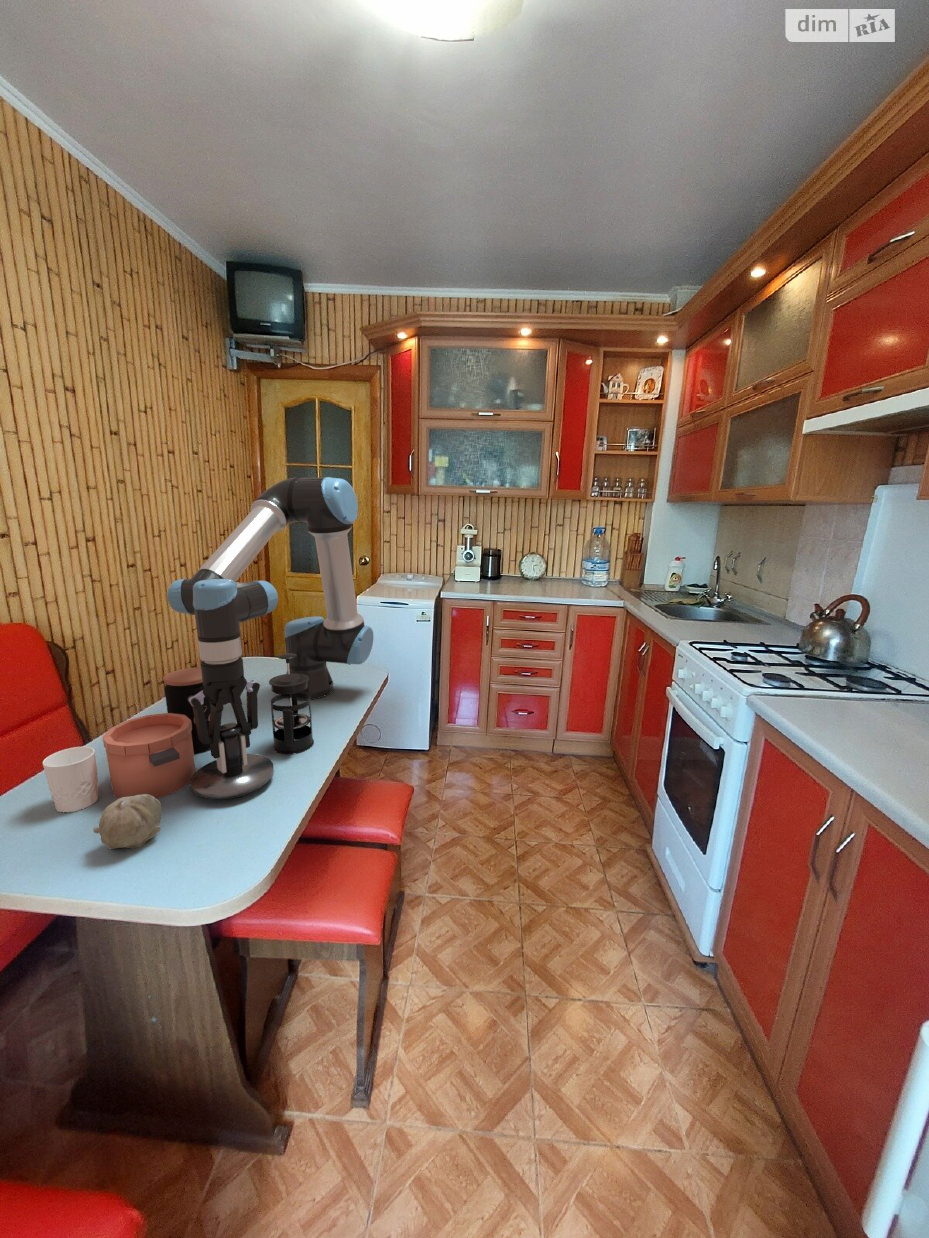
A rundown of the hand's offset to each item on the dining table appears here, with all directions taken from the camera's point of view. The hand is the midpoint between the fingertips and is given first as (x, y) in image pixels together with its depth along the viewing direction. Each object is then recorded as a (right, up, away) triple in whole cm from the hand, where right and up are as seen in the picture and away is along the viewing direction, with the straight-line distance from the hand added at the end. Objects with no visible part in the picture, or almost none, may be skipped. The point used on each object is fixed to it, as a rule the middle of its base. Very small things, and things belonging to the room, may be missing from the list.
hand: (232, 766), depth 103 cm
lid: (0, -4, +1) cm, 4 cm away
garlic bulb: (-10, -8, -17) cm, 21 cm away
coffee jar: (-17, 0, +18) cm, 24 cm away
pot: (-17, -4, +2) cm, 18 cm away
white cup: (-27, -6, -6) cm, 29 cm away
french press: (+7, 0, +18) cm, 19 cm away
